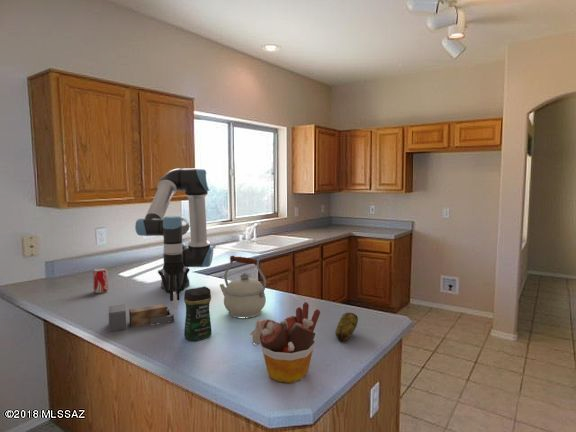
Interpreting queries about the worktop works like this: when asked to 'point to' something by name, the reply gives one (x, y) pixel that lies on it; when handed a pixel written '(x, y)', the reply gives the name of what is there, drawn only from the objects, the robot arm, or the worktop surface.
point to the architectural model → (255, 336)
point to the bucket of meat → (288, 345)
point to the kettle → (244, 292)
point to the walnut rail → (146, 314)
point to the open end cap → (163, 318)
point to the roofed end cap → (117, 317)
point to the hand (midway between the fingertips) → (174, 307)
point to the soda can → (100, 280)
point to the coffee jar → (197, 313)
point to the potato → (346, 326)
